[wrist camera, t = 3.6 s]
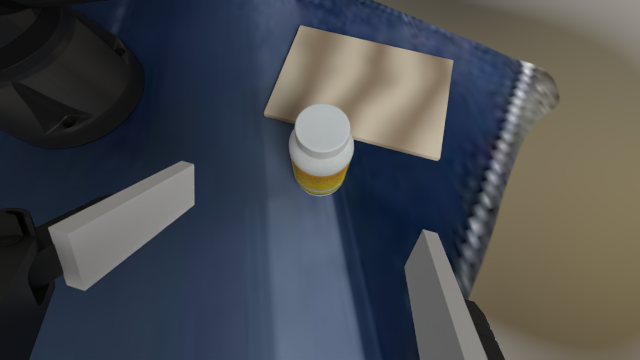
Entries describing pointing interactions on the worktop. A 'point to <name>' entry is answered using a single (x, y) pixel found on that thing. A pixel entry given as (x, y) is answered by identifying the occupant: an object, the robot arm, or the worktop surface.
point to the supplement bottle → (321, 148)
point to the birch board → (367, 89)
